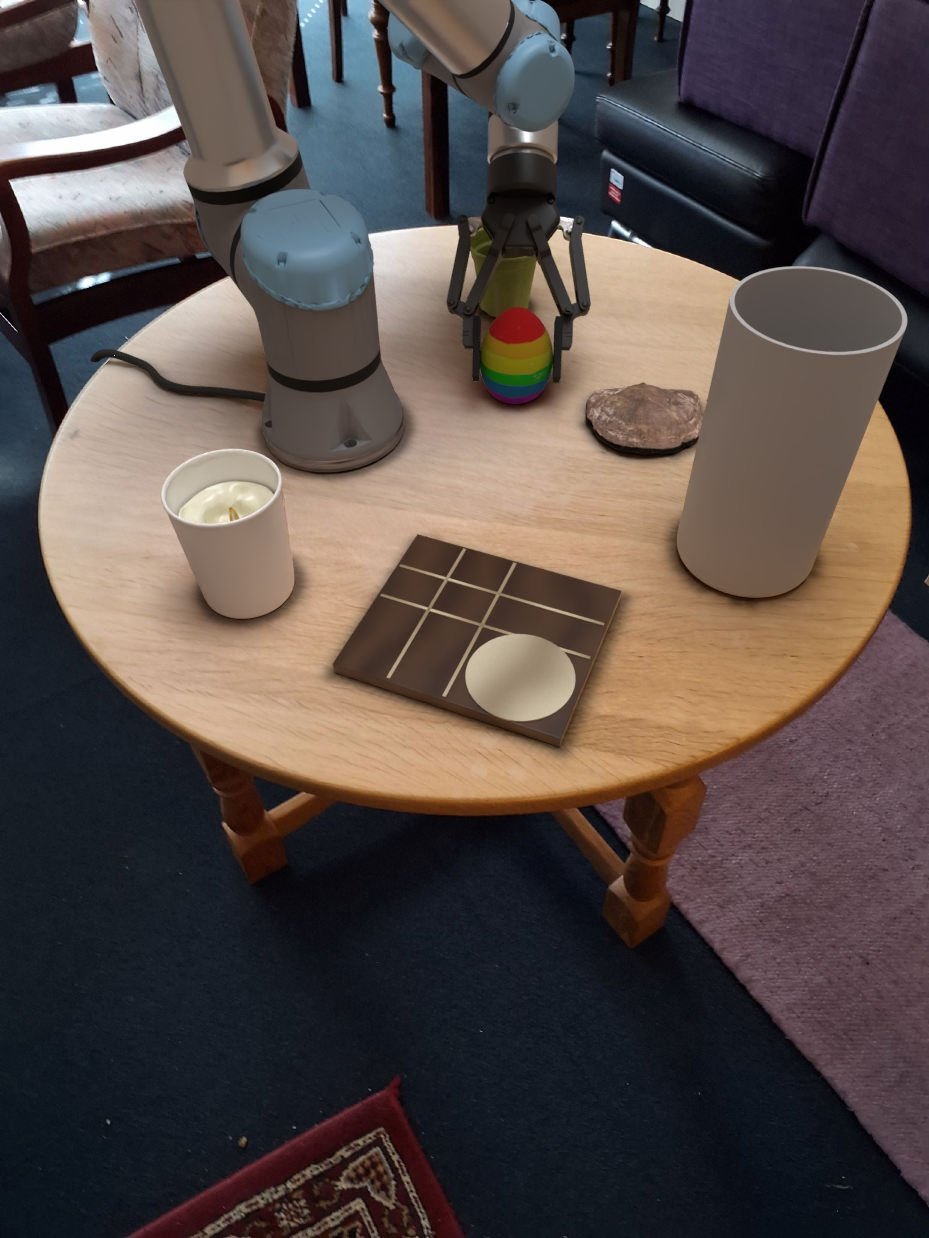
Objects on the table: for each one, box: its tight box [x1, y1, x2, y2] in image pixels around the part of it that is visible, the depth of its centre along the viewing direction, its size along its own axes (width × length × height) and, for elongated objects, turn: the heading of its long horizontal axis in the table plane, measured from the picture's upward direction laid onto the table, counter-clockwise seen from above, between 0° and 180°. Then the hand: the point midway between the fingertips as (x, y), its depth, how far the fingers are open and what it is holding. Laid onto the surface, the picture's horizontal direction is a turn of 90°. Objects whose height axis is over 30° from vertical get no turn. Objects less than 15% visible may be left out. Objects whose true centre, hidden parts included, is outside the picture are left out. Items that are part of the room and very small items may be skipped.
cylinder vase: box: [676, 265, 908, 599], centre depth 75 cm, size 12×12×25 cm
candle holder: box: [160, 448, 296, 620], centre depth 78 cm, size 10×10×12 cm
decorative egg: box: [480, 307, 553, 405], centre depth 98 cm, size 8×8×10 cm
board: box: [332, 534, 622, 748], centre depth 77 cm, size 20×17×1 cm
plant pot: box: [470, 228, 538, 319], centre depth 111 cm, size 9×9×9 cm
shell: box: [585, 382, 704, 455], centre depth 96 cm, size 12×13×4 cm
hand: (516, 379), depth 97 cm, fingers closed on decorative egg, 8 cm apart
